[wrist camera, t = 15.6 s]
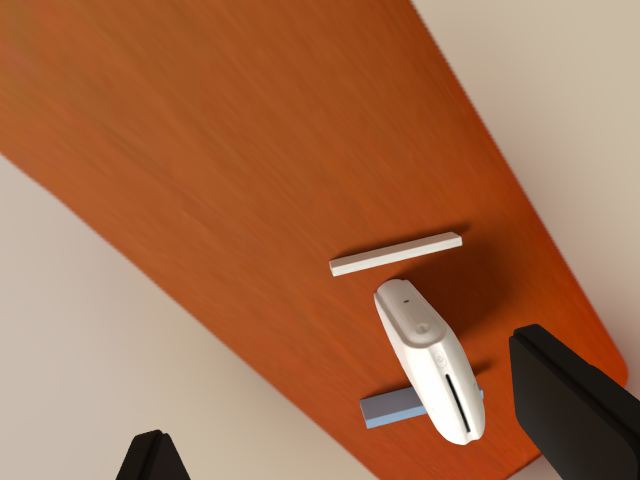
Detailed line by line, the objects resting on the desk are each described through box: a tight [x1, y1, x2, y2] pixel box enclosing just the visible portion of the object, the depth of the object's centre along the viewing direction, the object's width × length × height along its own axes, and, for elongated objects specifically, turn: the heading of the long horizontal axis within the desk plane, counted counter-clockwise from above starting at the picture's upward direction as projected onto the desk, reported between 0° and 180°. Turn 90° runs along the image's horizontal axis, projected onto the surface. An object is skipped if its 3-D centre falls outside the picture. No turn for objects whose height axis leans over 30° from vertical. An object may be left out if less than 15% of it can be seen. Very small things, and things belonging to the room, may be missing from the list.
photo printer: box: [374, 279, 485, 445], centre depth 33 cm, size 10×4×12 cm, turn 24°
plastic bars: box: [329, 232, 483, 429], centre depth 38 cm, size 17×12×3 cm
